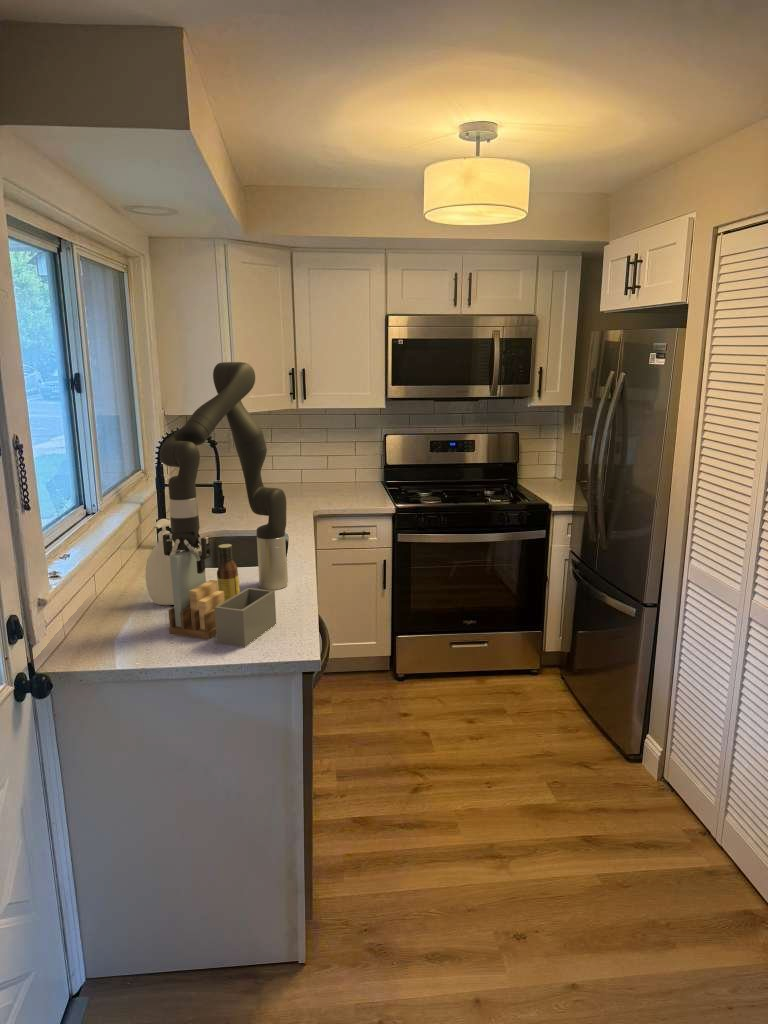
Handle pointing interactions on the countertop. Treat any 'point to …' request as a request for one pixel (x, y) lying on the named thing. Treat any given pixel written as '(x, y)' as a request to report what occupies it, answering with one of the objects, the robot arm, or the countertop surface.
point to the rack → (194, 629)
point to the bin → (245, 616)
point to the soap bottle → (160, 570)
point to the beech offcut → (209, 605)
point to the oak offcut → (201, 594)
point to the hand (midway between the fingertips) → (188, 571)
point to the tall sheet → (184, 580)
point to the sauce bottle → (227, 572)
